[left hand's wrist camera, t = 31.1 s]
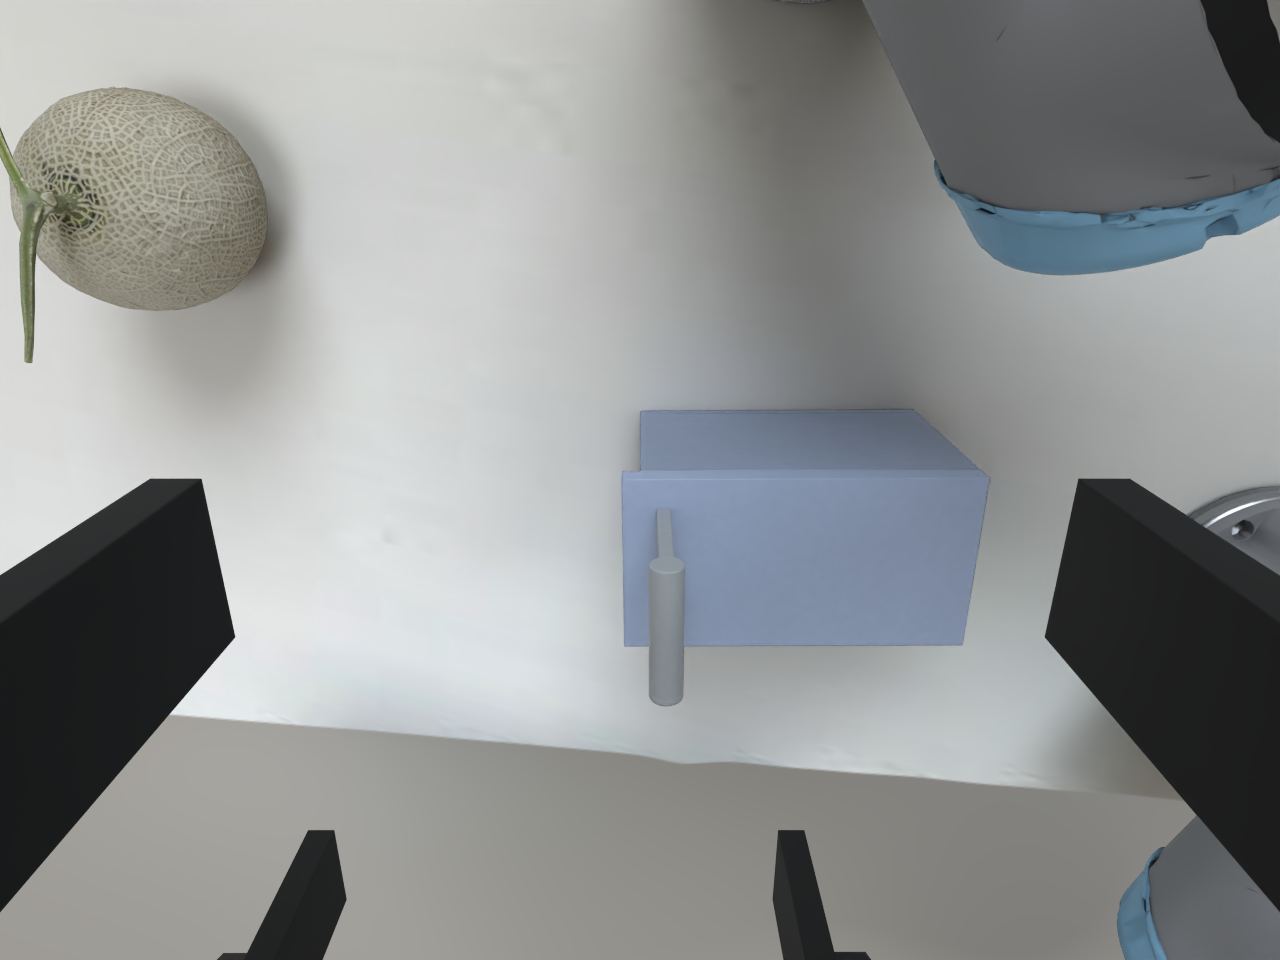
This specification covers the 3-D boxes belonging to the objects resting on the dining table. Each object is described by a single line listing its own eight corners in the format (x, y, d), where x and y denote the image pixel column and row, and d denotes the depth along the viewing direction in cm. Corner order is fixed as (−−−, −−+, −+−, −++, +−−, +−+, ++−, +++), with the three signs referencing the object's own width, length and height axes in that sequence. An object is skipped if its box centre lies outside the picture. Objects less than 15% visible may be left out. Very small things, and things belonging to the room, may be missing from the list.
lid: (624, 634, 44) (621, 733, 37) (622, 470, 41) (617, 541, 33) (954, 633, 44) (1020, 732, 37) (980, 469, 41) (1059, 540, 33)
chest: (641, 548, 55) (641, 634, 45) (640, 410, 51) (640, 470, 41) (896, 546, 54) (954, 632, 44) (913, 409, 51) (980, 468, 41)
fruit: (198, 41, 43) (-12, -17, 29) (336, 231, 47) (207, 260, 33) (59, 152, 45) (-199, 147, 31) (202, 326, 49) (27, 391, 35)
